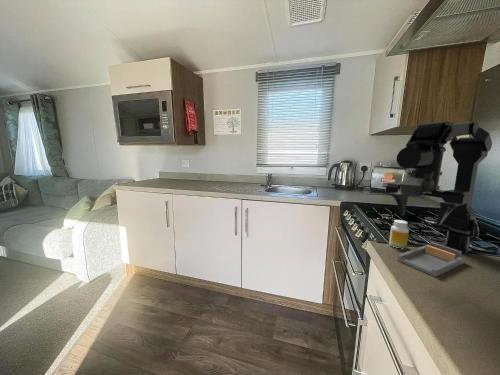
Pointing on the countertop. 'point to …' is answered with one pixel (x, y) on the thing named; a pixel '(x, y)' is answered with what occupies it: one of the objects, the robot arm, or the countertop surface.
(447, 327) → the countertop surface
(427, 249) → the bar
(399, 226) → the supplement bottle
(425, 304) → the countertop surface
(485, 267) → the countertop surface
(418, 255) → the grey tray
